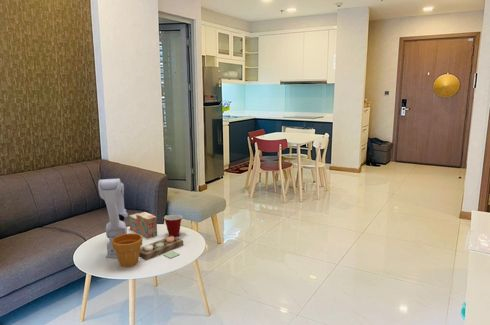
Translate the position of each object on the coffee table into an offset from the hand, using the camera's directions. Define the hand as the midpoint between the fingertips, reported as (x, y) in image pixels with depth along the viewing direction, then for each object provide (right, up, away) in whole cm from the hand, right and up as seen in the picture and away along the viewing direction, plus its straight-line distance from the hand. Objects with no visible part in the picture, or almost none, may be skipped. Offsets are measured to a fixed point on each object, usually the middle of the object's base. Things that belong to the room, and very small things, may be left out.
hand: (120, 226), depth 209 cm
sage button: (+24, -11, -9) cm, 28 cm away
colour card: (+32, -12, -16) cm, 38 cm away
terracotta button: (+29, -8, -4) cm, 30 cm away
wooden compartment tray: (+24, -11, -9) cm, 28 cm away
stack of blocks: (+9, -7, +16) cm, 19 cm away
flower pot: (+12, -14, -24) cm, 30 cm away
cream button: (+20, -11, -14) cm, 27 cm away
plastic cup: (+28, -7, +10) cm, 31 cm away
